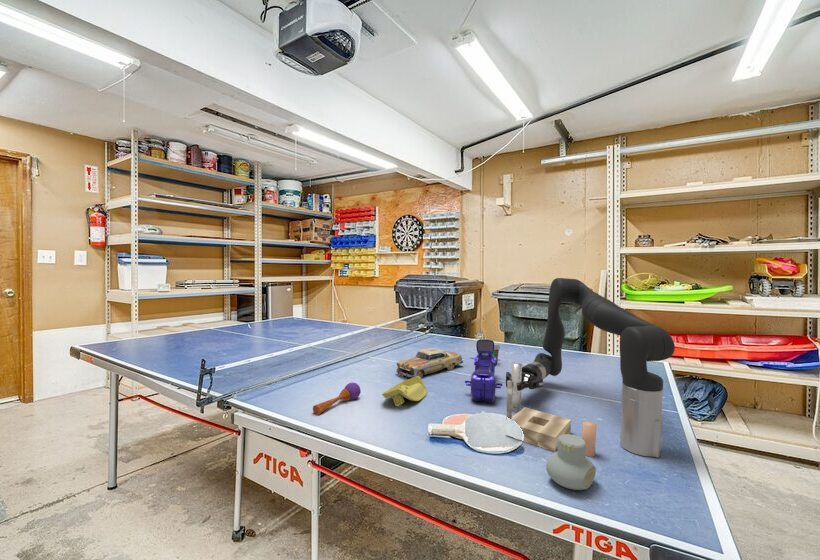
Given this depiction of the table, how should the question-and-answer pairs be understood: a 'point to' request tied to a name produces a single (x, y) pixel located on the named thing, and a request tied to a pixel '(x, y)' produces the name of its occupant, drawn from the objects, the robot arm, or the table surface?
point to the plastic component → (407, 391)
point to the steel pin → (515, 381)
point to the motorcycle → (484, 373)
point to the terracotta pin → (589, 437)
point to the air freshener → (571, 464)
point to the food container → (495, 352)
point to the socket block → (538, 425)
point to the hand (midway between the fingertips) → (512, 386)
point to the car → (428, 362)
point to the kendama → (339, 397)
